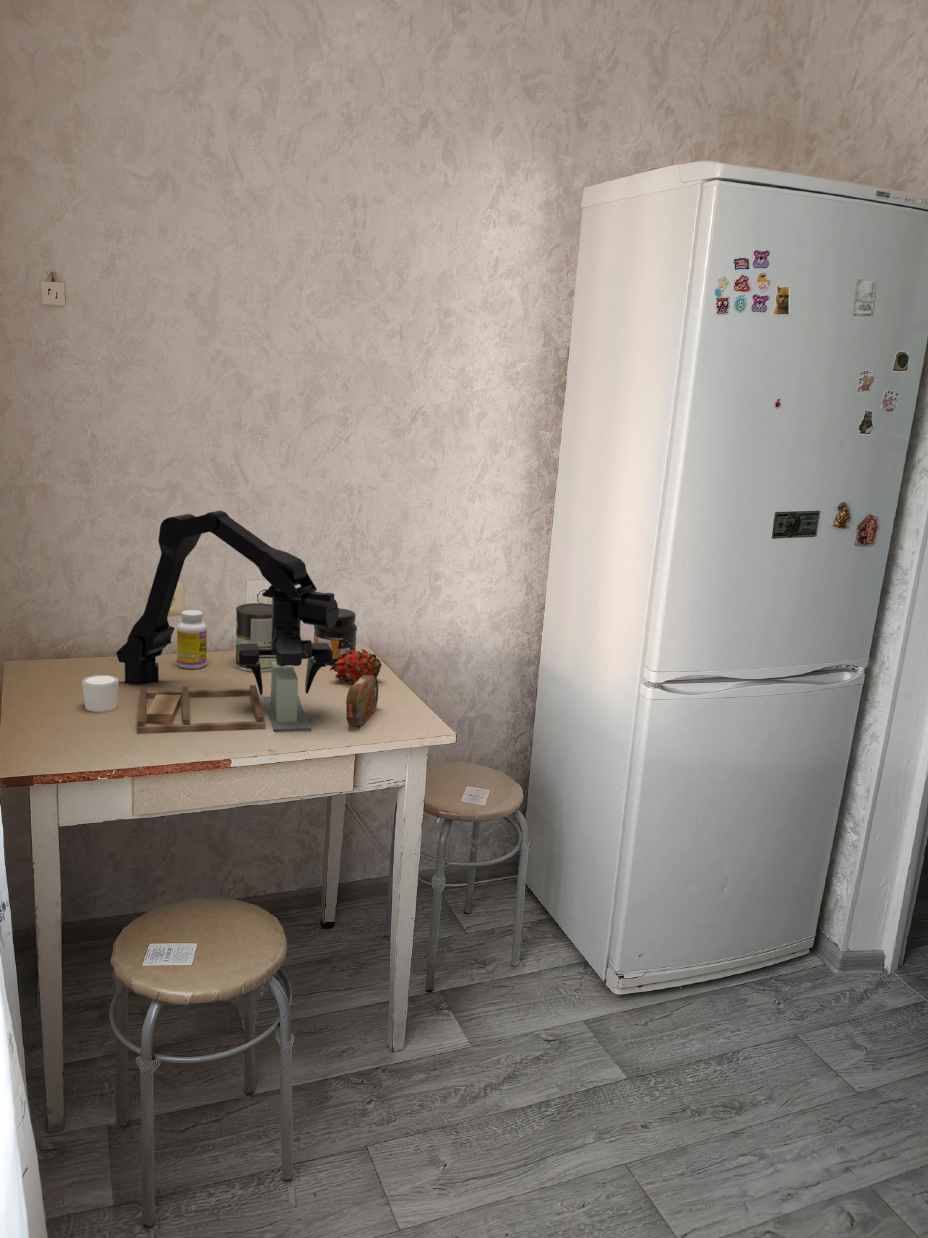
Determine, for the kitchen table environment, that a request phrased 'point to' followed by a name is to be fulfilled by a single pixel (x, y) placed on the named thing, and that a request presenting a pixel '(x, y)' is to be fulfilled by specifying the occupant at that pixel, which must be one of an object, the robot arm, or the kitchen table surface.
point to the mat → (287, 726)
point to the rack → (186, 713)
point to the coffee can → (254, 630)
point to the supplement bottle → (191, 640)
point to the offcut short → (163, 709)
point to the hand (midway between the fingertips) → (284, 693)
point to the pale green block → (284, 693)
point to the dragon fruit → (356, 665)
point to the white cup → (100, 692)
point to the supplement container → (339, 634)
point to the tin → (362, 700)
